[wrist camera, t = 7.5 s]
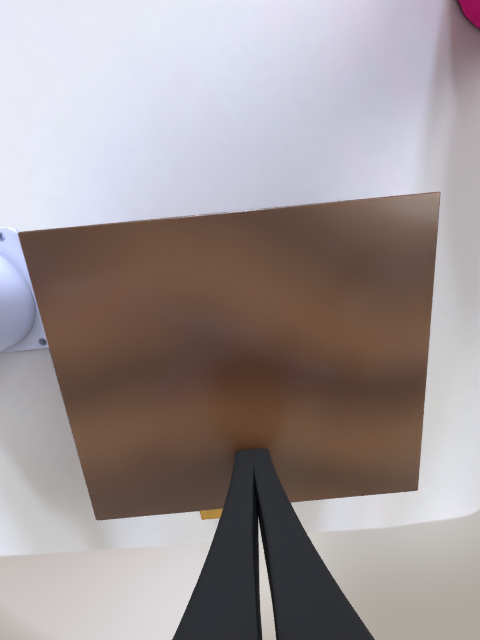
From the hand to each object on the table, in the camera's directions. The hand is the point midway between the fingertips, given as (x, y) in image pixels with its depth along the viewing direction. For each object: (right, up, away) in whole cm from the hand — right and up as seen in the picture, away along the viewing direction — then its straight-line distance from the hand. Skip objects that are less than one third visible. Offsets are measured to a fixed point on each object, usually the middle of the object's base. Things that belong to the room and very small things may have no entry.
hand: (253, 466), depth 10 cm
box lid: (0, +4, 0) cm, 4 cm away
